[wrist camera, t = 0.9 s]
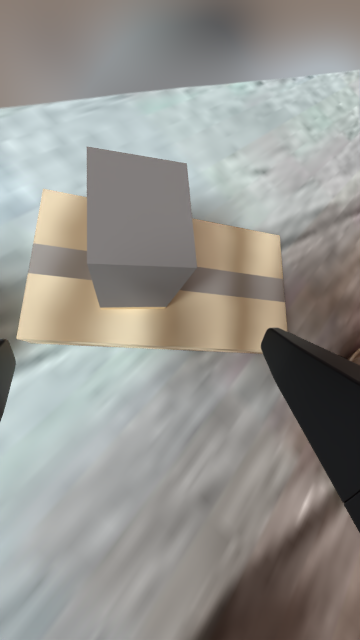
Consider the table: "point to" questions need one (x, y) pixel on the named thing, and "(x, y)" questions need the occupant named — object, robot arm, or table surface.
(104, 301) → the block
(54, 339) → the birch board
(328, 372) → the robot arm
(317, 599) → the table surface
